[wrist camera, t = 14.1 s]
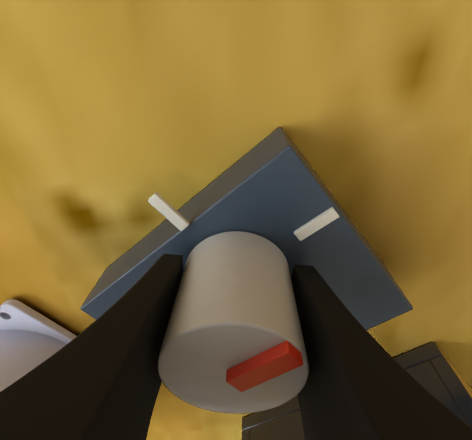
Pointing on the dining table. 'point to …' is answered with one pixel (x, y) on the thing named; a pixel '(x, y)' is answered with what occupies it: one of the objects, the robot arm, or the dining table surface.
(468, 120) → the dining table surface
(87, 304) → the rotary dial base
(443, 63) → the dining table surface
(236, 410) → the dial knob
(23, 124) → the dining table surface
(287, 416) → the black storage bin
